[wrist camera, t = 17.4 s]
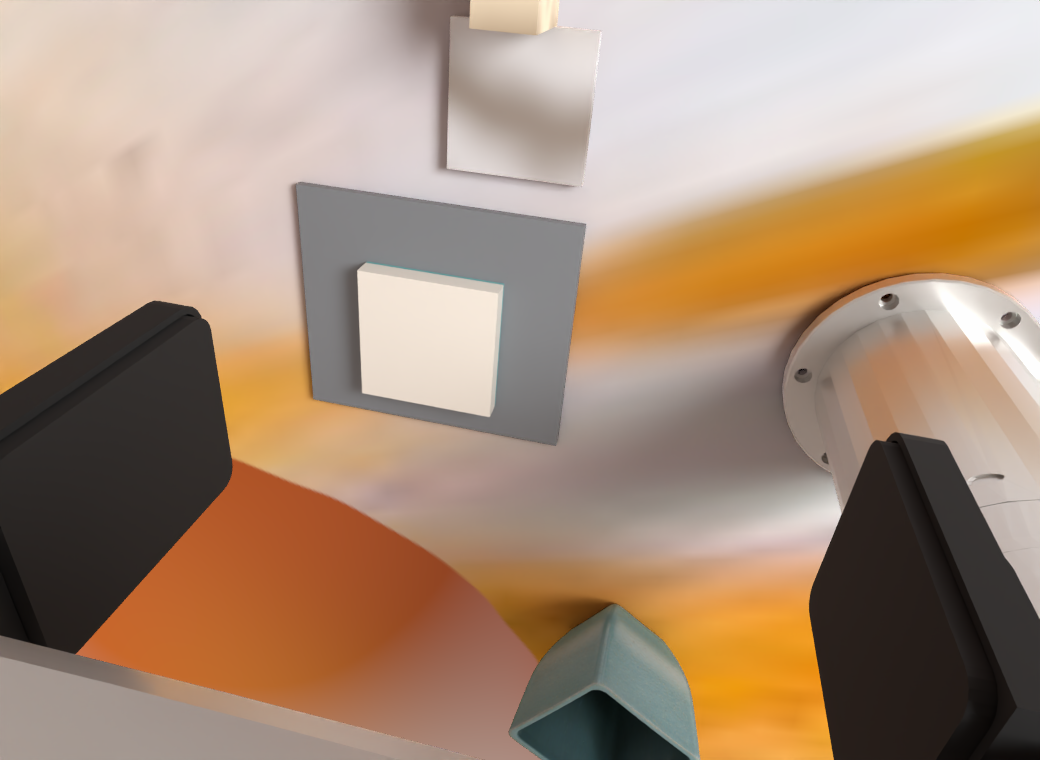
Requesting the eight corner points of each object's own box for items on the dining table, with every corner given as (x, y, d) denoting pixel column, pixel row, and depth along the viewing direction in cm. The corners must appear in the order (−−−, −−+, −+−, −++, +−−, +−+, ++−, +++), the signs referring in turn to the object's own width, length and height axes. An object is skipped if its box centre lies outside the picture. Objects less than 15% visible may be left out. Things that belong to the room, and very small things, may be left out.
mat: (586, 224, 38) (584, 227, 37) (557, 441, 45) (556, 445, 44) (300, 181, 40) (295, 184, 39) (317, 395, 47) (313, 399, 47)
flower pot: (531, 625, 54) (503, 735, 46) (613, 571, 49) (597, 682, 42) (617, 691, 55) (604, 807, 48) (703, 644, 51) (704, 764, 43)
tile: (498, 293, 38) (489, 417, 43) (504, 283, 40) (495, 404, 44) (357, 270, 40) (362, 393, 44) (367, 261, 41) (371, 381, 45)
